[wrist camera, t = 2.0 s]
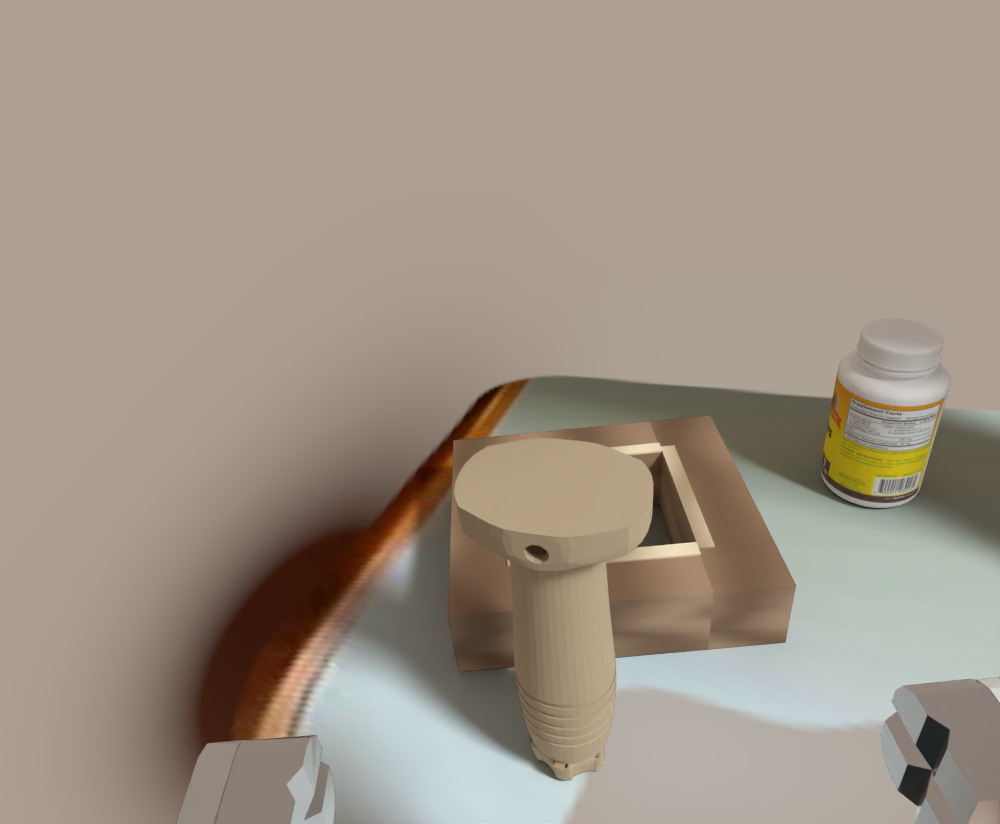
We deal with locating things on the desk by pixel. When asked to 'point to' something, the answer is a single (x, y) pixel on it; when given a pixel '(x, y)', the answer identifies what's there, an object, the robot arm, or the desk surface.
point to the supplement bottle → (885, 414)
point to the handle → (559, 578)
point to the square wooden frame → (645, 555)
